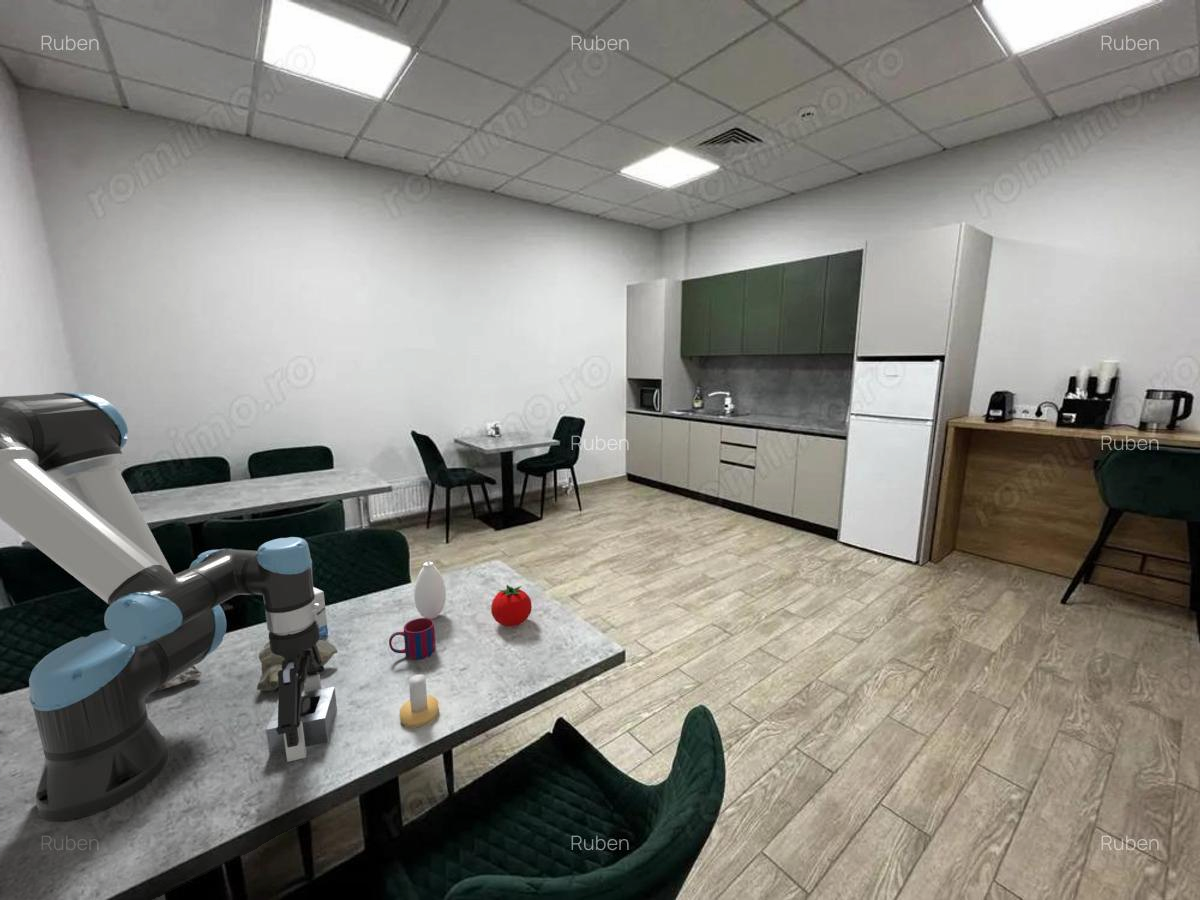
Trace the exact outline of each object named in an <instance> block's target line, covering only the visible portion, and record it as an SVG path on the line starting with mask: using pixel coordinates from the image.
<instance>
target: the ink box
mask: <svg viewBox="0 0 1200 900" xmlns="http://www.w3.org/2000/svg"><path fill="white" fill-rule="evenodd" d="M313 590H314V594H315V604H319V605H320V607H319V608H318V609H316V611H317V618H316V620H317V621H318V626H319V634H320V638H319V639H321V638H323V637H326V636H327V635H329V630H328V621H327V611H326V604H325V603H326V601H325V593H324V591H323V590H321V589H319V588H317V587H314V586H313Z"/></svg>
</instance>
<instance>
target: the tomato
mask: <svg viewBox="0 0 1200 900" xmlns="http://www.w3.org/2000/svg"><path fill="white" fill-rule="evenodd" d="M521 587H522V585H520V586H517V587H512V586H510V585H509V584H506V589H505V588H504V589H502V590H501V589H498V591H499V592H497V594H496V595H495V596H494V598H493V599H492V601H491V607H490V609H491V615H492V617H493V619H494V620H495V622H497V623H498V624H499V625H501V626H504V627H508V628H512V627H513V628H514V627H516V626H519V625H522V624H523V623H524V622H525V621H527V619H529V616H530V615H531V612H532V601H531V597H530V595H528V593H527V592H525V591H524V590H522V589H520V588H521Z"/></svg>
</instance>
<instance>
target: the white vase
mask: <svg viewBox="0 0 1200 900" xmlns="http://www.w3.org/2000/svg"><path fill="white" fill-rule="evenodd" d="M413 595H414V597H413V598H414V603H415V608H416V610H417V612H418V613H419V615H420V616H421V617H422V618H429V619H432V620H433V619H435V618H437V617H438V616H439V615H440V614H441V613H442V611H443V609H444V608H445V605H446V599H447V591H446V585H445V581H444V578H443V576H442V575H441V572H440V571H439V569H438V568H437V567H436V565H434V562H433V561H430V557H429V554H428V553H427V555H426V562H424V563H423V564H422V568H421V569H420V571H419V573H418V576H417V579H416V582H415V586H414V594H413Z"/></svg>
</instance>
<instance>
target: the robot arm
mask: <svg viewBox="0 0 1200 900" xmlns="http://www.w3.org/2000/svg"><path fill="white" fill-rule="evenodd" d="M128 433H129V429H128V425H127V422H126V420H125V418H124V416H123V415H122V413H121V412H120V411H119V410H118V408H116V407H115V405H113V404H112V403H111V402H109V401H107V400H106V399H105V398H102V397H99V396H97V395H94V394H89V393H83V392H79V393H77V392H76V393H75V392H74V393H72V392H54V393H46V394H45V393H43V394H27V395H26V394H25V395H9V396H7V395H5V396H0V520H1V521H2V522H4V523H5V524H7V525H8V526H9V527H10V528H12V530H14V532H16V533H18V534H19V535H21V537H23V538H24V539H25V540H27V541H28V542H29V543H30V544H32V545H33V546H34V547H35V548H37V549H38V550H39V551H40V552H42V553H43V554H45V555H46V556H47V557H48V558H50V559H51V561H53V562H55V564H57V565H58V566H60V567H61V568H62V570H63V569H64V571H66V572H67V573H68V574H70V575H71V576H73V577H74V578H75V579H76V580H77V581H78V582H80V583H81V584H82V585H84V586H85V587H86V588H87V589H89V591H91V592H93V593H94V594H95V595H96V596H98V597H99V598H100V599H101V600H103V602H105V603H106V604H107V605H109V606H108V607H107V609H106V611H105V612H104V626H105V628H106V629H105V630H101V631H97V632H93V633H91V634H90V635H87V636H80V637H77V638H76V639H73V640H71V641H69V642H66V643H65V644H63V645H61V646H59V647H58V648H56V649H54V650H52V651H51V652H50V653H48V654H47V655H45V656H44V657H43V658H42V659H41V660H40V661H39V662H38V663H37V664H36V665H35V666H34V668H33V669H32V671H31V672H30V673H31V674H30V675H29V676H30V677H29V679H28V684H29V699H28V700H29V702H30V705H31V706H32V709H33V712H34V716H35V721H36V724H37V728H38V733H39V736H40V737H39V738H40V742H41V747H42V751H43V754H44V755H43V756H44V763H43V766H42V771H41V774H40V778H39V783H38V784H37V785H38V786H37V789H36V793H35V804H36V809H37V812H38V814H39V816H40V817H41V818H43V819H44V820H47V821H52V822H61V821H60V820H65V821H70V820H69V819H72V820H75V819H74V818H77V819H80V817H81V818H84V817H87V816H91V815H93V814H96V813H99V812H101V811H103V810H106V809H108V808H110V806H111V807H113V806H115V805H117V804H119V803H120V802H123V801H124V800H126V799H127V798H129V797H131V796H133V795H134V794H136V793H137V792H138V790H139V791H140V790H142V789H143V788H144V787H145V786H147V785H148V784H149V783H151V780H152V779H153V778H154V779H155V778H156V777H157V776H158V775H159V774H160V773H161V772H162V771H163V769H164V767H165V766H166V765H167V763H168V760H169V756H170V753H169V747H168V743H167V740H166V738H165V737H164V736H163V735H162V734H161V732H160V730H159V729H158V728H157V727H156V726H155V724H154V723H153V722H152V720H151V719H149V716H148V712H147V711H148V710H147V706H146V701H145V699H146V698H147V697H148V696H149V695H150V694H152V693H154V692H156V691H155V690H156V689H158V688H160V687H161V686H163V685H164V684H165V683H167V682H168V681H170V680H171V679H173V678H174V677H176V676H178V675H179V674H181V673H182V672H184V671H185V670H187V669H188V668H190V667H191V666H196V665H198V664H199V663H201V662H202V661H203V660H205V658H206V657H207V656H209V655H210V654H211V653H213V652H214V651H215V650H217V648H218V647H219V646H220V645H221V644H222V642H223V639H224V637H225V635H226V631H227V619H226V615H225V612H224V610H223V608H222V606H221V604H223V603H225V602H226V601H229V600H230V599H232V598H234V597H236V596H239V595H243V596H244V595H245V596H259V595H260V596H262V597H263V604H264V613H265V620H266V629H267V630H268V640H269V641H268V642H270V649H271V652H272V653H273V654H275V655H279V656H282V657H284V658H285V659H284V660H283V661H282V670H280V671H279V672H278V683H279V687H278V696H277V697H278V700H277V701H278V702H277V705H278V727H276V731H277V733H278V735H280V734H284V741H285V748H286V752H285V756H286V761H287V763H288V762H292V761H297V760H301V759H305V758H306V757H307V749H306V748H307V747H305V740H304V732H303V724H302V721H301V722H300V713H301V699H302V693H303V688H304V692H308V691H314V690H319V689H322V682H321V675H320V673H324V672H325V665H323V666H319V665H321V663H322V660H321V657H320V654H319V651H318V648H317V645H316V643H317V642H318V640H320V639H321V638H320V634H319V626H318V621H317V620H316V618H317V611H316V609H318V608H319V607H320V605H319V604H315V594H314V590H313V587H314V579H313V575H314V574H313V560H312V558H311V552H310V548H309V544H308V542H307V541H306V539H304V538H302V537H297V536H290V537H280V538H279V537H278V538H275V539H272V540H269V541H266V542H264V543H263V544H261V545H260V546H259V547H258V549H257V550H246V549H234V548H221V549H211V550H207V551H204V552H201V553H200V554H199V555H197V558H195V560H193V561H192V562H191V564H190V565H189V568H187V569H184V570H182V571H179V572H177V573H175V574H174V572H173V571H172V569H171V567H170V565H169V563H168V561H167V559H166V558H165V555H164V554H163V552H162V550H161V548H160V545H159V544H158V543H157V540H156V538H155V537H154V534H153V533H152V531H151V529H150V528H149V525H148V523H147V521H146V519H145V517H144V516H143V513H142V511H141V509H140V508H139V505H138V504H137V503H136V499H135V498H134V497H133V495H132V493H131V491H130V489H129V487H128V485H127V483H126V481H125V479H124V478H123V476H122V474H121V472H120V470H119V465H120V463H121V462H122V461H123V459H124V457H125V456H124V454H123V451H122V449H123V448H124V447H125V445H126V444H127V441H128V439H129V437H128V436H127V435H126V434H128ZM298 677H301V678H299V679H297V678H298ZM153 691H154V692H153ZM156 775H157V776H156ZM154 779H153V780H154ZM153 780H152V781H153ZM148 782H149V783H148ZM147 783H148V784H147ZM146 784H147V785H146ZM142 787H143V788H142ZM135 792H136V793H135Z"/></svg>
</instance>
